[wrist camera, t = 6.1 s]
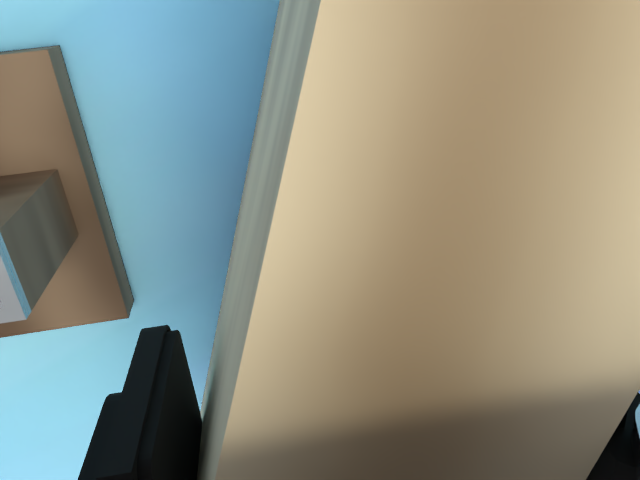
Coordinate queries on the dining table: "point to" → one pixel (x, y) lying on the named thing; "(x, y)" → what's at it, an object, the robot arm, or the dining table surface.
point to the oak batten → (433, 246)
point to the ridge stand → (51, 206)
